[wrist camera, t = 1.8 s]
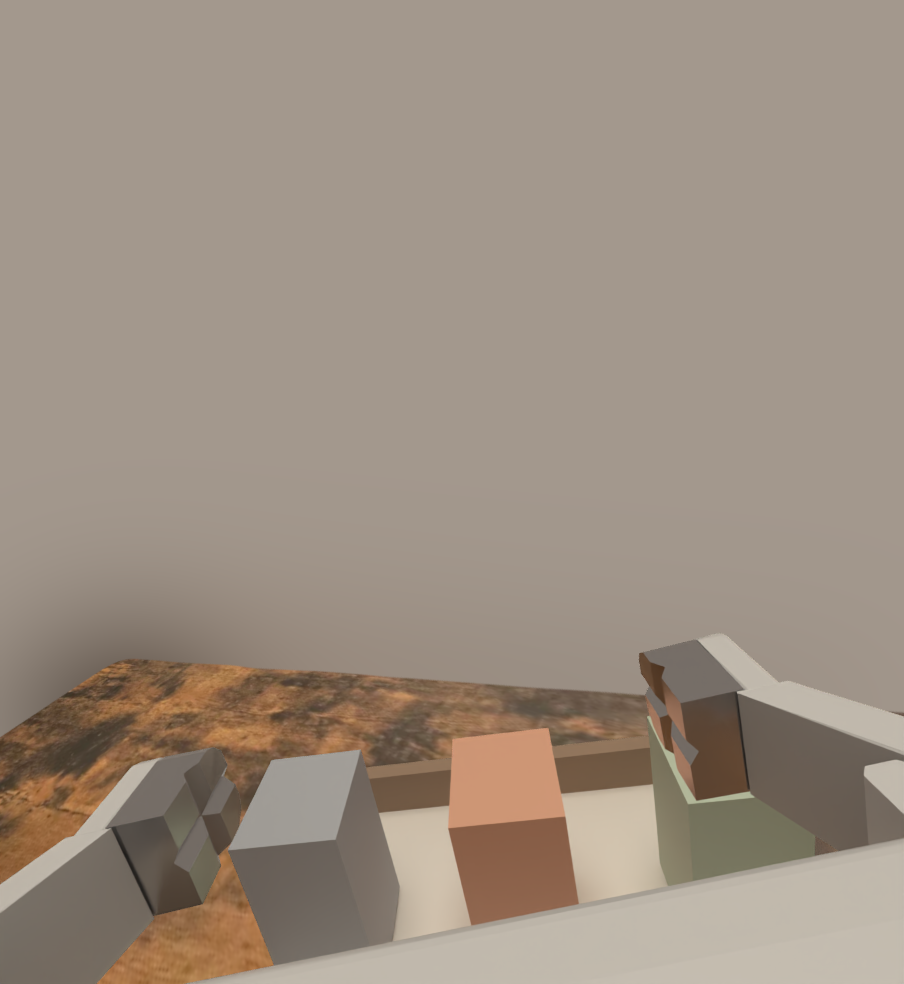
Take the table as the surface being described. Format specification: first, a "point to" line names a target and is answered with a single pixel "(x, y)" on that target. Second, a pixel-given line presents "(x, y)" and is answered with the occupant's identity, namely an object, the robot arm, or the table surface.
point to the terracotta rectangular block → (509, 826)
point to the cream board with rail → (589, 817)
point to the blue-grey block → (316, 859)
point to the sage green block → (716, 827)
